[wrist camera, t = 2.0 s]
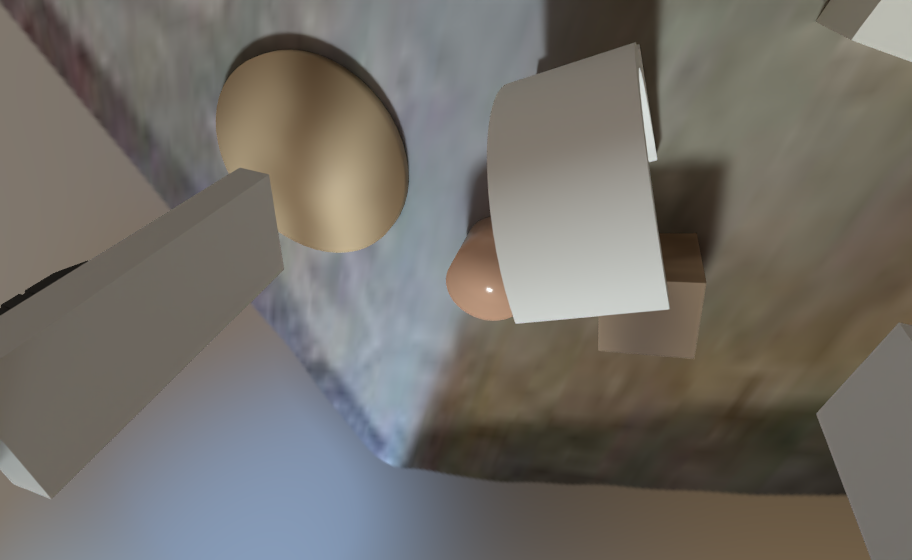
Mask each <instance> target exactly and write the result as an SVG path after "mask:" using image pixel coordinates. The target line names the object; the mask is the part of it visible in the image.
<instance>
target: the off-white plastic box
mask: <svg viewBox="0 0 912 560" xmlns="http://www.w3.org/2000/svg"><path fill="white" fill-rule="evenodd" d="M816 22H817V23H819V24H821V25H823V26H825V27H827V28H829V29H831V30H833V31H835V32H837V33H839V34H841V35H842V36H844V37H846V38H848V39H850V40H853V41H855V42H858V43H861V44H864V45H866V46H869V47H872V48H875V49H877V50H880V51H883V52H886V53H888V54H891V55H894V56H897V57H900V58H902V59H905V60H908V61H911V62H912V0H830V1H829V3H828V4H827V6H826V7H825V9H824V10H823V12H822V13H821V14H820V16H819V17H818V19H817V20H816Z"/></svg>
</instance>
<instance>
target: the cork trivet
mask: <svg viewBox="0 0 912 560" xmlns="http://www.w3.org/2000/svg"><path fill="white" fill-rule="evenodd" d="M216 132H217V138H218V144H219V148H220V151H221V155H222V158H223V161H224V163H225V166H226V168H227V170H228V172H229V174H230V173H232V172H233V171H235V170H237V169H238V168H244V169H248V170H253V171H257V172H261V173H265V174H269V178H270V184H271V190H272V196H273V203H274V209H275V215H276V222H277V228H278V231H279V232H280V233H281V234H283V235H284V236H286V237H288V238H290V239H292V240H293V241H295V242H298V243H300V244H302V245H304V246H307V247H310V248H313V249H316V250H321V251H326V252H336V253H340V252H351V251H357V250H360V249H363V248H366V247H368V246H370V245H372V244H373V243H375V242H377V241H378V240H379V239H380V238H382V237H383V236H384V235H385V234H386V233H387V231H388V230H389V229H390V228H391V227H392V226H393V224H394V223H395V222H396V220H397V219H398V217H399V215H400V214H401V211H402V209H403V207H404V204H405V201H406V197H407V192H408V183H409V175H408V163H407V157H406V152H405V149H404V145H403V142H402V139H401V137H400V134H399V132H398V129H397V127H396V125H395V123H394V121H393V119H392V118H391V116H390V114H389V112H388V111H387V109H386V108H385V107H384V105H383V104H382V102H381V101H380V100H379V98H378V97H377V96H376V95H375V94H374V93H373V91H372V90H371V89H370V88H369V87H368V86H367V85H366V84H365V83H364V82H363V81H361V80H360V79H359V78H358V77H357V76H356V75H354V74H353V73H352V72H350V71H349V70H348V69H346V68H345V67H343V66H341V65H340V64H338V63H336V62H334V61H333V60H330V59H328V58H326V57H323V56H321V55H318V54H315V53H311V52H307V51H302V50H293V49H289V50H277V51H273V52H268V53H265V54H262V55H259V56H256V57H254V58H252V59H250V60H247V61H246V62H244V63H243V64H242V65H240V66H239V67H238V68H237V69H236V70H235V71H234V72H233V73H232V74H231V75H230V76H229V78H228V79H227V81H226V83H225V84H224V86H223V89H222V91H221V93H220V96H219V100H218V105H217V112H216Z"/></svg>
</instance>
